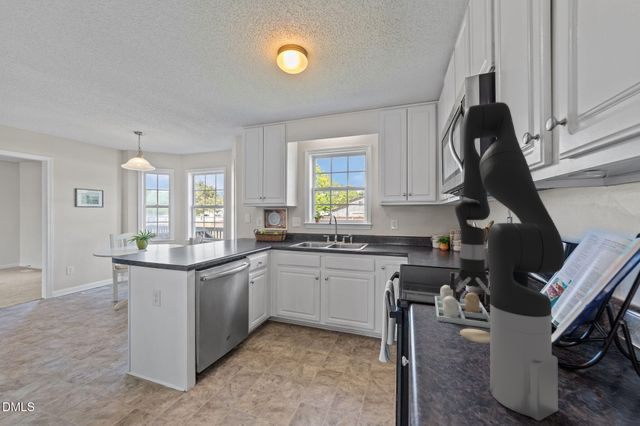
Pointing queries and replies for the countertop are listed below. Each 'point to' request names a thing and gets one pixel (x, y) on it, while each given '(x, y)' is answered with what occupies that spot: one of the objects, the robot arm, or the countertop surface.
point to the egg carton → (463, 314)
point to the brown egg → (471, 303)
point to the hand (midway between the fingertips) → (472, 303)
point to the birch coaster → (476, 335)
